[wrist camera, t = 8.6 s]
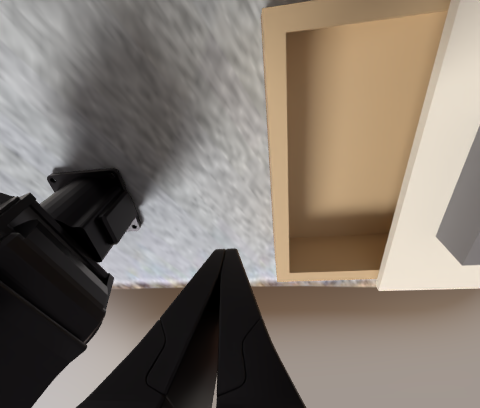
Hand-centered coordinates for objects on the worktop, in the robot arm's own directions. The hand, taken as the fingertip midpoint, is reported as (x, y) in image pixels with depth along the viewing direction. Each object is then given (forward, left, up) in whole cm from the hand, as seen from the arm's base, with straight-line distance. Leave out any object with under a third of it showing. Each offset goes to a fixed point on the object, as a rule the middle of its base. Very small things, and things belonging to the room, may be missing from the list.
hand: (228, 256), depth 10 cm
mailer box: (+9, -1, -12) cm, 15 cm away
